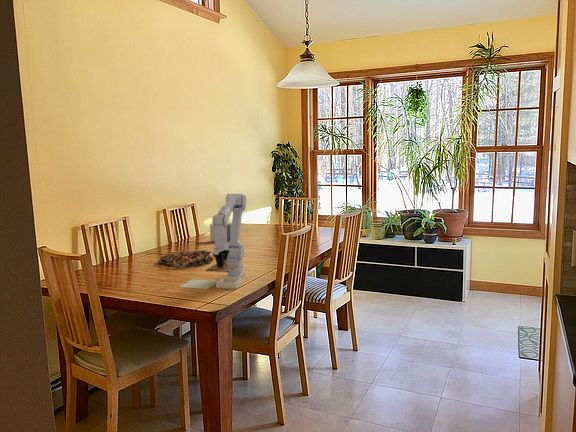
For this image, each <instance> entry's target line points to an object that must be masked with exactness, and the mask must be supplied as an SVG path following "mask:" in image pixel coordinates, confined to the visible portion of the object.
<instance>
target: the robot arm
mask: <svg viewBox="0 0 576 432" xmlns="http://www.w3.org/2000/svg"><path fill="white" fill-rule="evenodd" d="M246 205H247V197H246V194H245V193H227V194H226V195H225V204H224V205H223V206H222V207H221V208H220V209H219V210H218V212H217V213H216V214H214V215H213V216H212V223H211V224H213V227H214V230H215V242H214V243H215V245H214V247H213V248H212V249H213V252H212V257H213V256H214V257H213V258H214V259H215V262H216V264H217V266H218V267H222V266H223V259H226V260H227V265H238V266H237V267H236V268H235V269H233V270H232V271H230V272H227V275H225V276H224V277H233V278H242V277H243V276H244V275H245V272H244V263H243V258H244V257H245V246H244V244H242V243H241V242H240V238H241V227H242V219H243V218H242V217H243V212H244V211H245V210H246V207H247V206H246ZM232 214H233V215H232ZM230 215H231V216H232V219H231V222H232V227H231V237H230V241H227V228H226V226H227V225H228V223H229V218H230V217H231V216H230Z"/></svg>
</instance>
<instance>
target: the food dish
mask: <svg viewBox="0 0 576 432" xmlns="http://www.w3.org/2000/svg"><path fill="white" fill-rule="evenodd" d="M211 254H213V252H212V251H208V250H207V251H206V250H205V249H203V250H187V251H178V252H171V253H168V254H164V255H163V256H161V257H159V258H158V262H159V263H161V264H162V265H164V266H165V267H169V268H177V269H189V268H198V267H201V266H202V267H203V266H206V265H209V264H211V263H212V262H213V261H214V258H215V257H214V256H213V255H212V256H211Z"/></svg>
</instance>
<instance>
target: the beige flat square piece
mask: <svg viewBox="0 0 576 432" xmlns="http://www.w3.org/2000/svg"><path fill="white" fill-rule="evenodd" d="M217 281H218V280H213V279H211V280H210V279H196V278H195V279H190V280H188V281H187V282H185V283H183V284H182V285H180V286H178V288H180V289H181V288H182V289H183V288H184V289H198V290H199V289H200V290H209V289H210V288H212V287H213V286H214V285H216V282H217Z"/></svg>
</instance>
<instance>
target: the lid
mask: <svg viewBox="0 0 576 432" xmlns="http://www.w3.org/2000/svg"><path fill="white" fill-rule="evenodd" d="M237 266H238V265H227V260H226V259H223V266H222V267H218V266H217V263H216V264H213V265H212V266H209V267H208V268H206V270H205V271H206V272H218V273H219V272H221V273H222V272H223V273H228V272H230V271H232V270H233V269H235V268H236V267H237Z"/></svg>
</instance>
